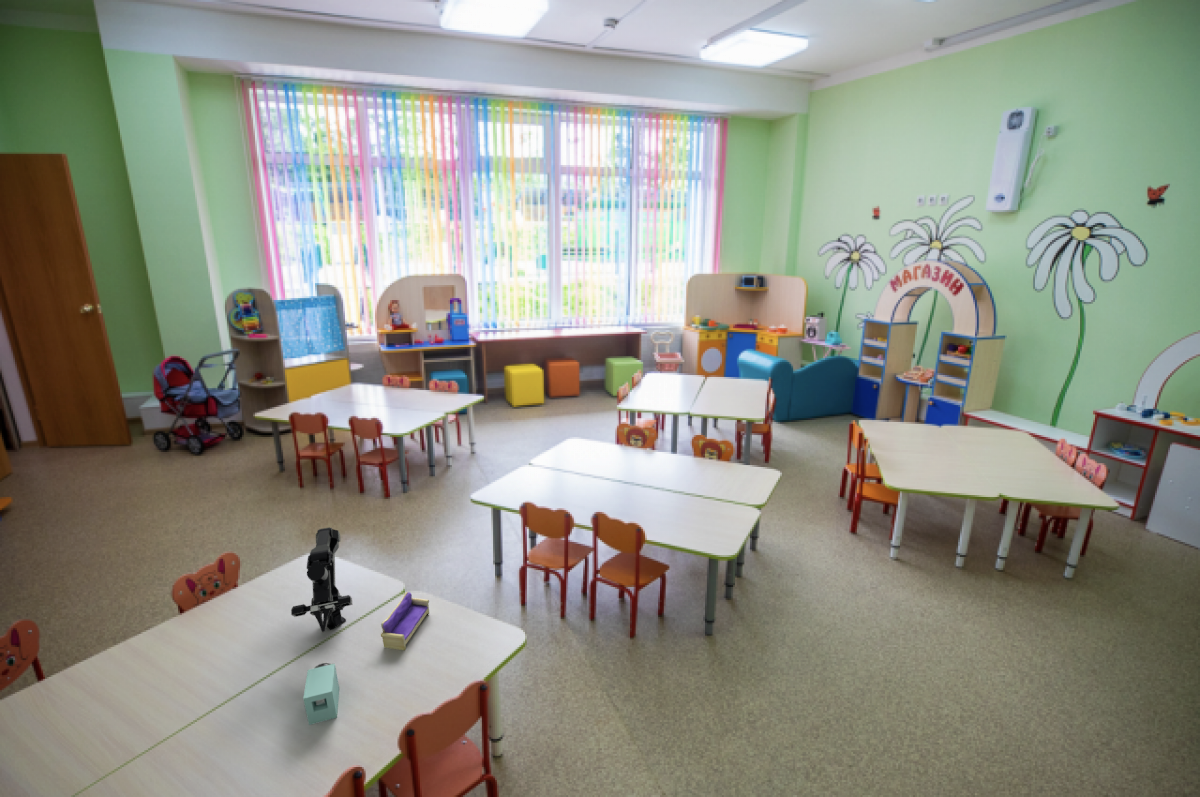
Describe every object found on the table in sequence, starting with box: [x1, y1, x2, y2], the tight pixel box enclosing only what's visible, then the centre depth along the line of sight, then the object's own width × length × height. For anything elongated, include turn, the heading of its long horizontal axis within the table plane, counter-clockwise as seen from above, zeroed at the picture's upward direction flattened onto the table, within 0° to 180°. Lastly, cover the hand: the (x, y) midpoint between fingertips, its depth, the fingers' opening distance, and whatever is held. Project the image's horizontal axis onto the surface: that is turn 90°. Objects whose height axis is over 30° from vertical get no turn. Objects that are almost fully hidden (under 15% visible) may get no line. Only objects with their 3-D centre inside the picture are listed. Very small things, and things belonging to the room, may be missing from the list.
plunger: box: [314, 662, 331, 705], centre depth 183 cm, size 12×7×7 cm, turn 20°
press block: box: [302, 663, 340, 726], centre depth 182 cm, size 12×8×10 cm, turn 20°
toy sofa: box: [380, 591, 430, 651], centre depth 215 cm, size 21×9×10 cm, turn 169°
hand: (323, 631), depth 197 cm, fingers closed
